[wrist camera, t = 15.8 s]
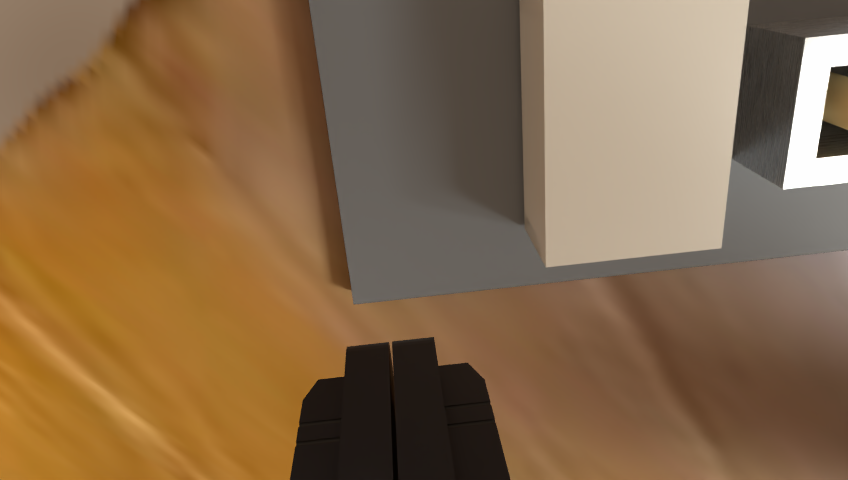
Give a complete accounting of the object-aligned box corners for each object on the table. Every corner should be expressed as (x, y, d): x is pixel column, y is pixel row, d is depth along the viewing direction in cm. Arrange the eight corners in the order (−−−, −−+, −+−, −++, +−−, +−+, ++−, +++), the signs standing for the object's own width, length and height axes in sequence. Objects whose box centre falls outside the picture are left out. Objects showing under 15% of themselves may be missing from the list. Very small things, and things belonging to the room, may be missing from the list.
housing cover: (679, 211, 29) (721, 248, 26) (524, 228, 29) (545, 267, 26) (698, -28, 25) (752, -25, 22) (519, -11, 25) (543, -4, 22)
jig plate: (842, 238, 32) (942, 300, 27) (354, 292, 31) (350, 367, 26) (915, -134, 26) (1068, -157, 20) (300, -78, 25) (279, -85, 19)
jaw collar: (855, 145, 29) (924, 173, 25) (730, 158, 29) (783, 189, 25) (880, 11, 27) (961, 22, 23) (745, 25, 26) (805, 37, 23)
